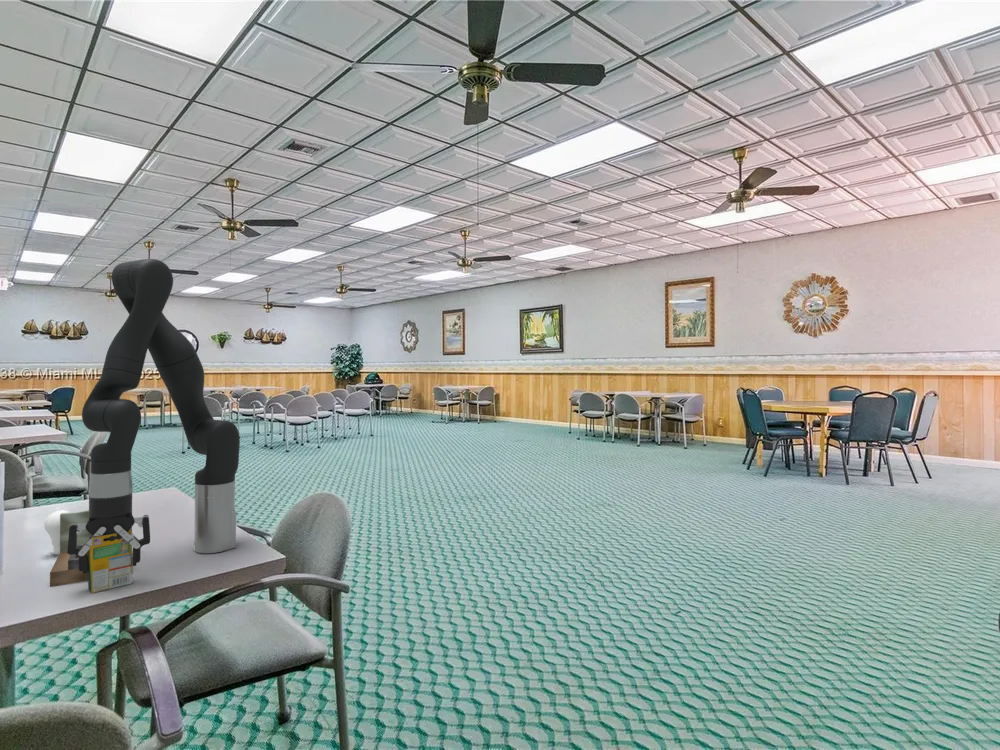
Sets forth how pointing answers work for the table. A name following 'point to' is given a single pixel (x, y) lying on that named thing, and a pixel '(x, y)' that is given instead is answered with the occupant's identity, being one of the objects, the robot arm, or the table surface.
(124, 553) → the crayon box
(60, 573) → the display stand
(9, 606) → the table surface
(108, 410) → the robot arm
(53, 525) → the lightbulb
